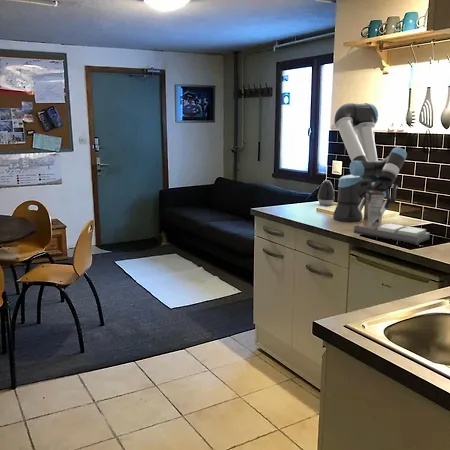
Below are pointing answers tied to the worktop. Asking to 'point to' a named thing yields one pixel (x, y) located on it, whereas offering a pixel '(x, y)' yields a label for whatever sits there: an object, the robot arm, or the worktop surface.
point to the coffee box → (373, 208)
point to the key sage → (412, 231)
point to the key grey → (390, 227)
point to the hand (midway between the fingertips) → (370, 211)
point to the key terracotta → (367, 227)
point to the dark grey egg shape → (326, 193)
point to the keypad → (392, 235)
